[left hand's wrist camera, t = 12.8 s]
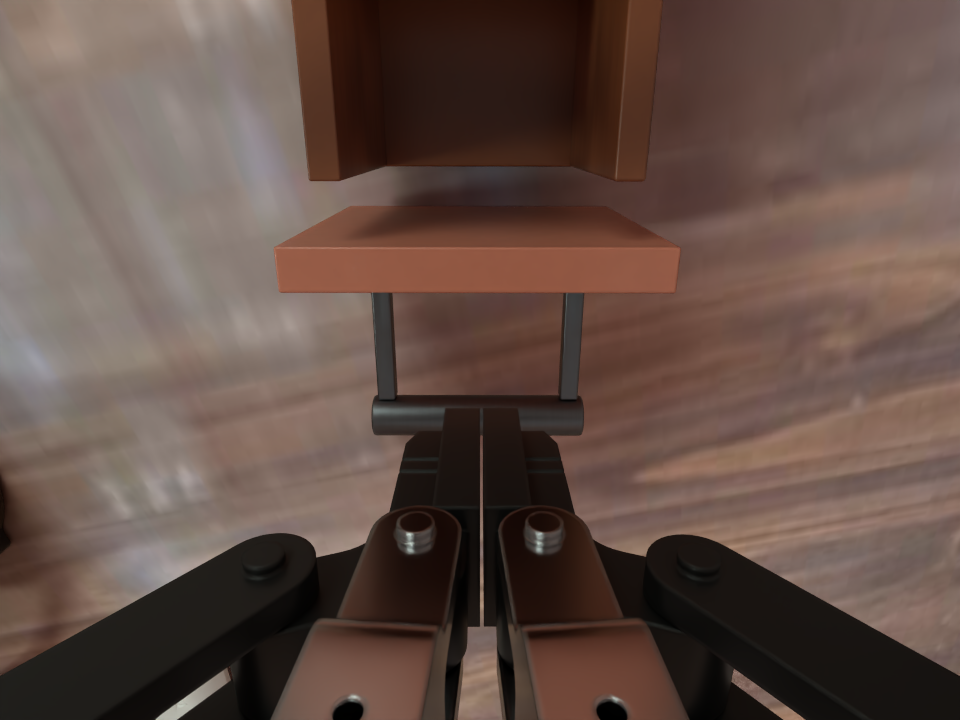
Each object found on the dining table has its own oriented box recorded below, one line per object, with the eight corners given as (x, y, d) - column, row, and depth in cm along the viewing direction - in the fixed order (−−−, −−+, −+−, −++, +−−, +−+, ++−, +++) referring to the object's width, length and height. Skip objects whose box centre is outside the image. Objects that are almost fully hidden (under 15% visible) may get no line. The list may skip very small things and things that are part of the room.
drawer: (594, 372, 26) (652, 491, 17) (361, 372, 26) (302, 490, 17) (651, -382, 18) (823, -895, 9) (305, -383, 18) (131, -898, 9)
